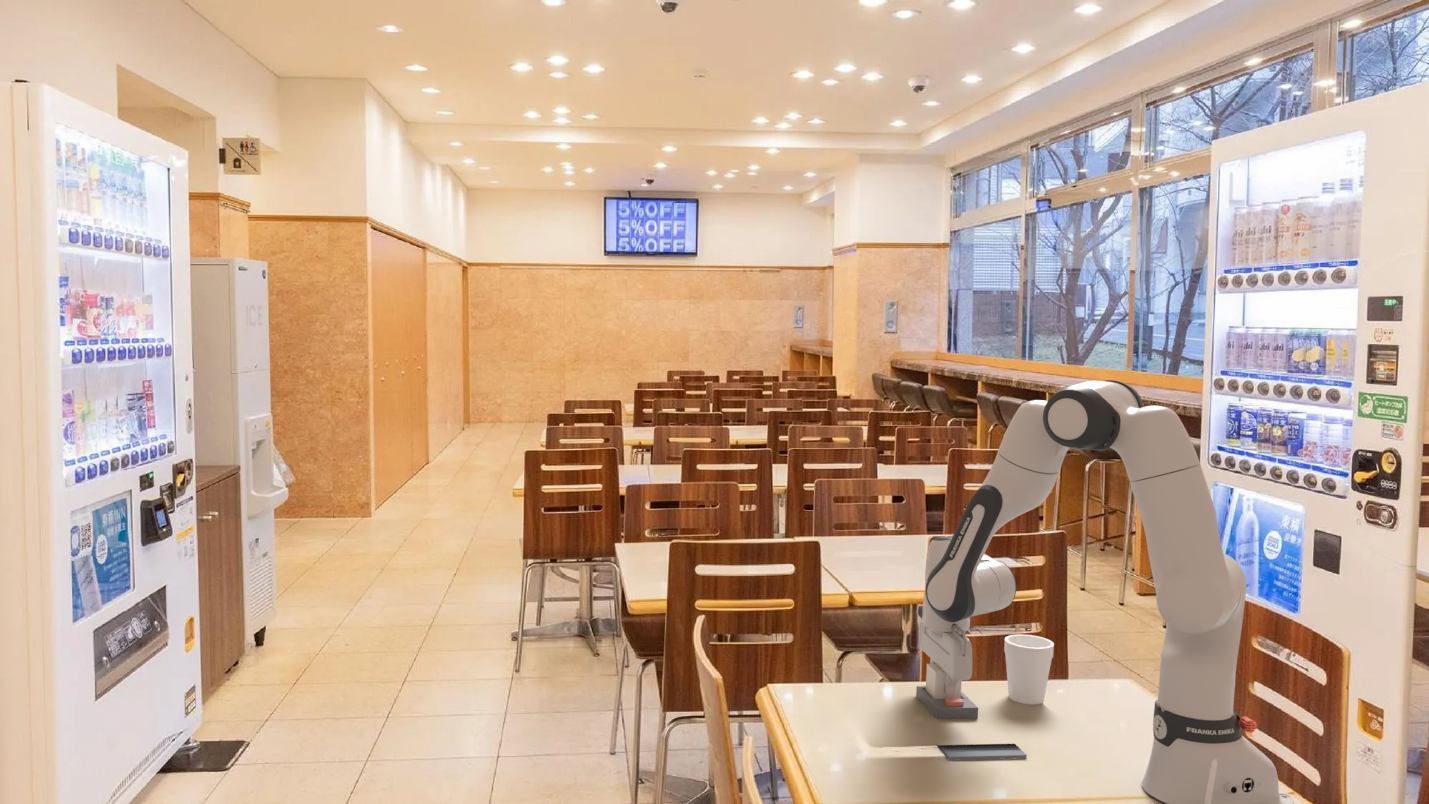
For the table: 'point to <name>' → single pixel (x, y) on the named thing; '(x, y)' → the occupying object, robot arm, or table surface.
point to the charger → (939, 683)
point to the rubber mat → (981, 751)
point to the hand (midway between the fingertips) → (943, 687)
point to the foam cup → (1027, 667)
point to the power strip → (948, 706)
